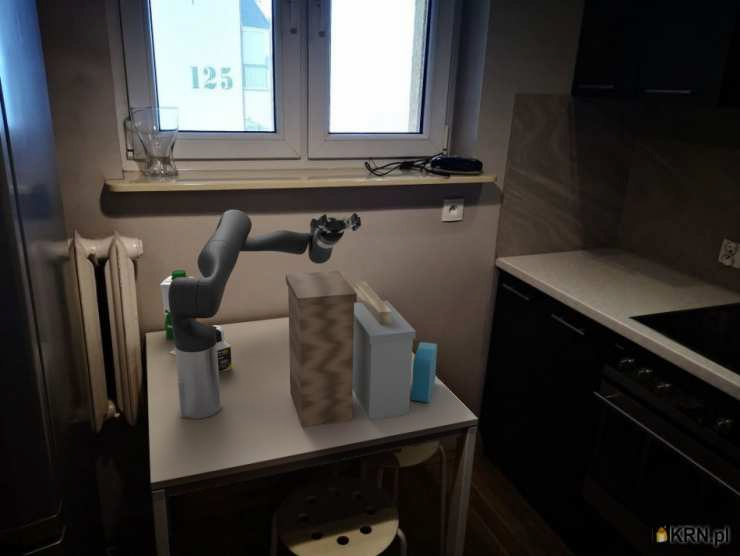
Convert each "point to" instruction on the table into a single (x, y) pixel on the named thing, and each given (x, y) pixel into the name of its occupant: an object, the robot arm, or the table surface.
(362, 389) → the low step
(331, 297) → the wooden column with lip
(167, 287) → the milk carton
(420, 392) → the data package
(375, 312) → the birch rod
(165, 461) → the table surface
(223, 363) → the medicine bottle
